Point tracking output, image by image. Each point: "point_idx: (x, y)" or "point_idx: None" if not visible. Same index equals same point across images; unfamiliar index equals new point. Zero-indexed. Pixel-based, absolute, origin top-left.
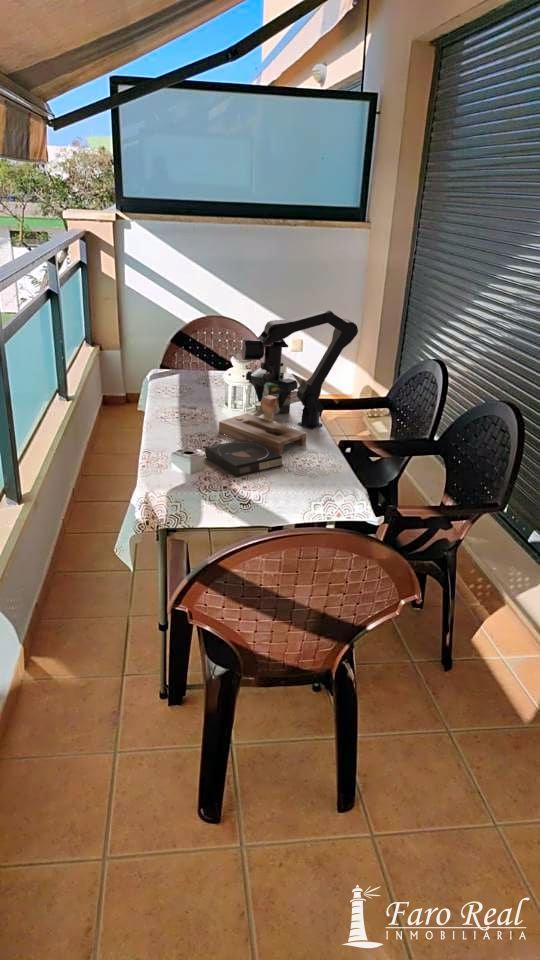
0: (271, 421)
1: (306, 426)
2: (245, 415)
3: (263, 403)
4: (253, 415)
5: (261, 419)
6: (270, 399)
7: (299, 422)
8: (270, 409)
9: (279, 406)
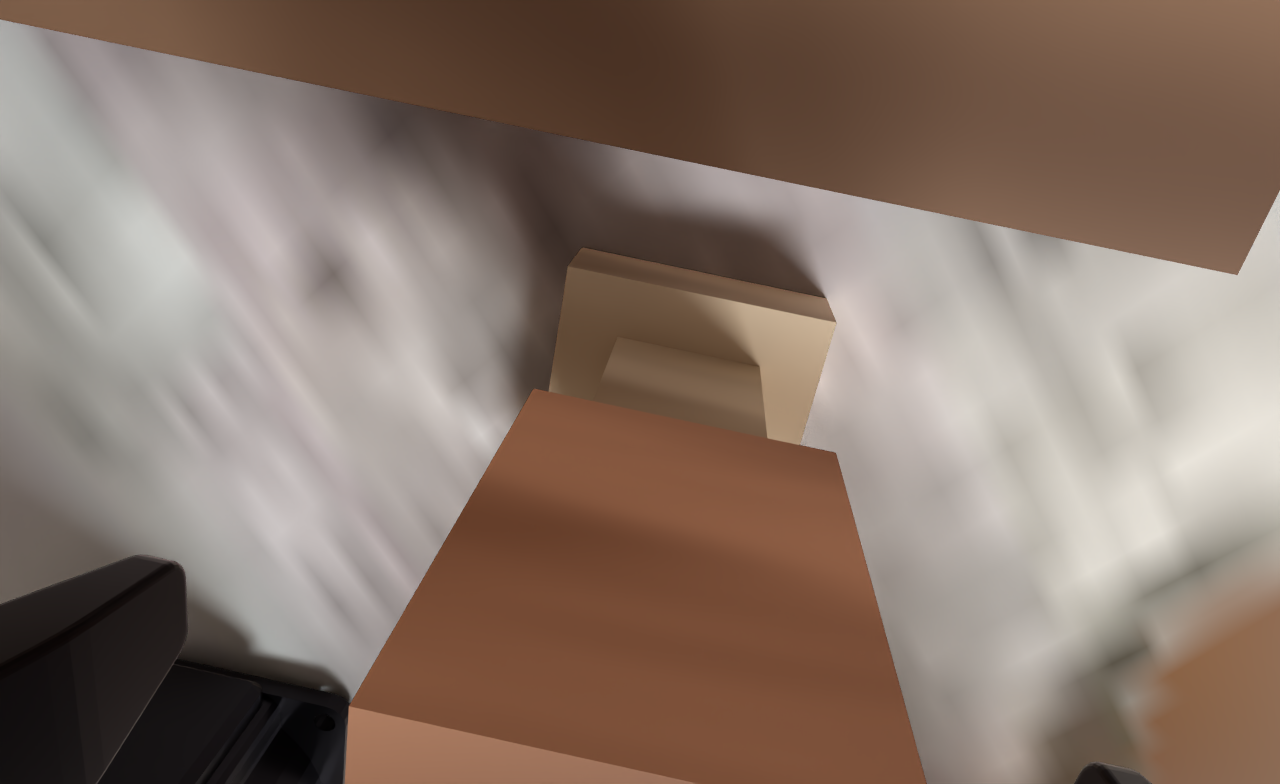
0: (320, 75)
1: (180, 667)
2: (1223, 36)
3: (814, 594)
4: (989, 209)
5: (623, 33)
6: (362, 707)
7: (340, 743)
8: (500, 465)
9: (107, 575)
